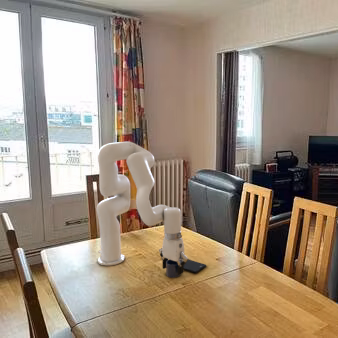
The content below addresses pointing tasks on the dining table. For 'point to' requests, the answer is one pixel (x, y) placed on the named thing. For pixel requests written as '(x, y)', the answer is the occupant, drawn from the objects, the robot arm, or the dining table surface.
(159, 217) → the robot arm
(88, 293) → the dining table surface
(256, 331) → the dining table surface
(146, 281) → the dining table surface
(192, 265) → the cell phone
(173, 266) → the blue plastic cup
